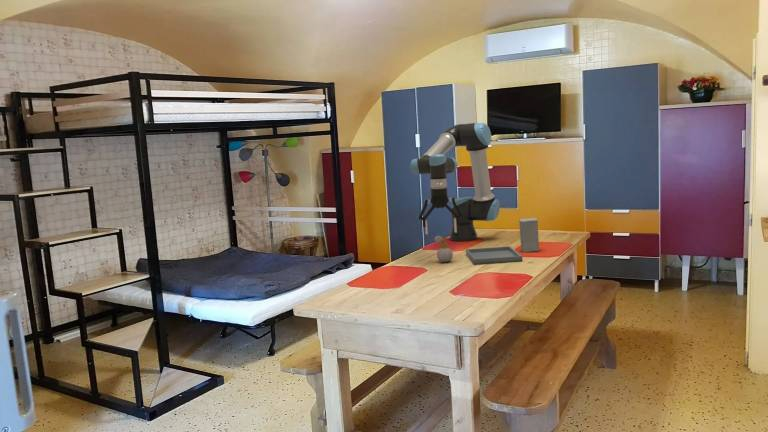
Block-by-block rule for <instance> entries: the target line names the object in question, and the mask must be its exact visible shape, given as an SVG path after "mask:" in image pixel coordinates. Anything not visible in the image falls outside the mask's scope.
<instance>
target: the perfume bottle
mask: <svg viewBox="0 0 768 432" xmlns="http://www.w3.org/2000/svg"><path fill="white" fill-rule="evenodd" d="M434 242H435V243H437V244H440V248H439V249H438V250H437V251H436V258H437V260H438V261H439V262H441V263H449V262H450V261H451V260H452V259H453V256H454V254H453V251H452V249H451V248H449V247H448V242H446V239H445V237H442V236H441V235H436V236H435V237H434Z"/></svg>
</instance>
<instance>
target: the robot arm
mask: <svg viewBox="0 0 768 432" xmlns="http://www.w3.org/2000/svg"><path fill="white" fill-rule="evenodd" d="M491 143H492V131H491V129H490V127H489V126H488V124H486V123H485V122H473V123H472V122H470V123H458V124H454V125H452V126H450V127H449V128H447V129H445V130H444V131H443V132H442V133H440V135H439V136H438V139H437V140H436V142H435V143H433V145H432V146H431V147H430V148H429V149H428V150H427V151H426V152H425V153H424V154H423V155H422V156H421V157H420V158H413V159H412V160H411V161H410V165H409V167H410V171H411V173H412V174H414V175H429V176H430V177H429V179H430V180H429V181H430V188H431V189H430V196H431V197H430V199H428V198H425V199H424V204H423V206H422V208H421V211H420V214H419V215H418V220H420V221H422V227H423V228H424V229H425V235H428V220H427V218H428V217H429V216H430V214H431V213H432V212H433V210H434V209H440V208H441V209H444V208H446V209H447V210H448V211H449V212H450V213H451V222H452V223H451V224H452V226H451V230H450V233H449V240H450V241H453V242H454V241H455V242H467V241H469V242H470V241H473V240H474V241H475V240H477V239H478V234H477V231H476V228H475V225H474V221H475V222H476V221H477V222H478V221H479V222H480V221H482V222H483V221H484V222H491V221H494V222H495V220H496V219H497V218H498V217H499V213H500V206H501V205H500V200H499V199H497V198H496V197H495V194H494V193H492V188H491V181H490V180H491V179H490V173H489V165H488V164H489V163H488V157H487V155H488V154H487V149H489V145H490V144H491ZM456 147H465V150H466V152H468V153H469V159H470V164H471V171H472V179H473V188H474V194H475V195H474V196H473V197H472V196H464V197H459V198H455V197H449V196H448V188H447V187H448V184H447V174H452V173H454V172H455V171H456V170H457V169H458V164H459V163H458V161H457V160H456V159H455V158H454V157H451V156H447V157H446V154H447V153H448V151H450V150H453V149H454V148H456ZM449 202H450V204H451V206H449V205H448V203H449ZM430 203H431V204H432V205H431V206H430V208H429V209H428V210H427V211H426V209H427V207H428V205H429V204H430ZM425 212H426V213H425ZM423 215H424V216H423Z"/></svg>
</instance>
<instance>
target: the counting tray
mask: <svg viewBox="0 0 768 432" xmlns="http://www.w3.org/2000/svg"><path fill="white" fill-rule="evenodd" d="M465 256H467V257H468V258H469V260H470V261H471V262H472V264H473V265H474V266H476V265H477V266H478V265H489V264H490V265H492V264H504V263H505V264H506V263H518V262H523V255H522V254H520V253H519V252H518V251H517V250H515V248H513V247H512V246H511V245H508V246H496V247H494V246H493V247H481V248H467V249H465Z"/></svg>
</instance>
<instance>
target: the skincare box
mask: <svg viewBox="0 0 768 432" xmlns="http://www.w3.org/2000/svg"><path fill="white" fill-rule="evenodd" d="M538 221H539V220H538V219H537V217H531V218H519V221H518V222H519V234H520V235H519V238H520V250H521V251H522V253H529V252H530V253H531V252H539V251H540V243H539V240H540V239H539V238H540V237H539V226H538V224H539V223H538Z"/></svg>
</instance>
